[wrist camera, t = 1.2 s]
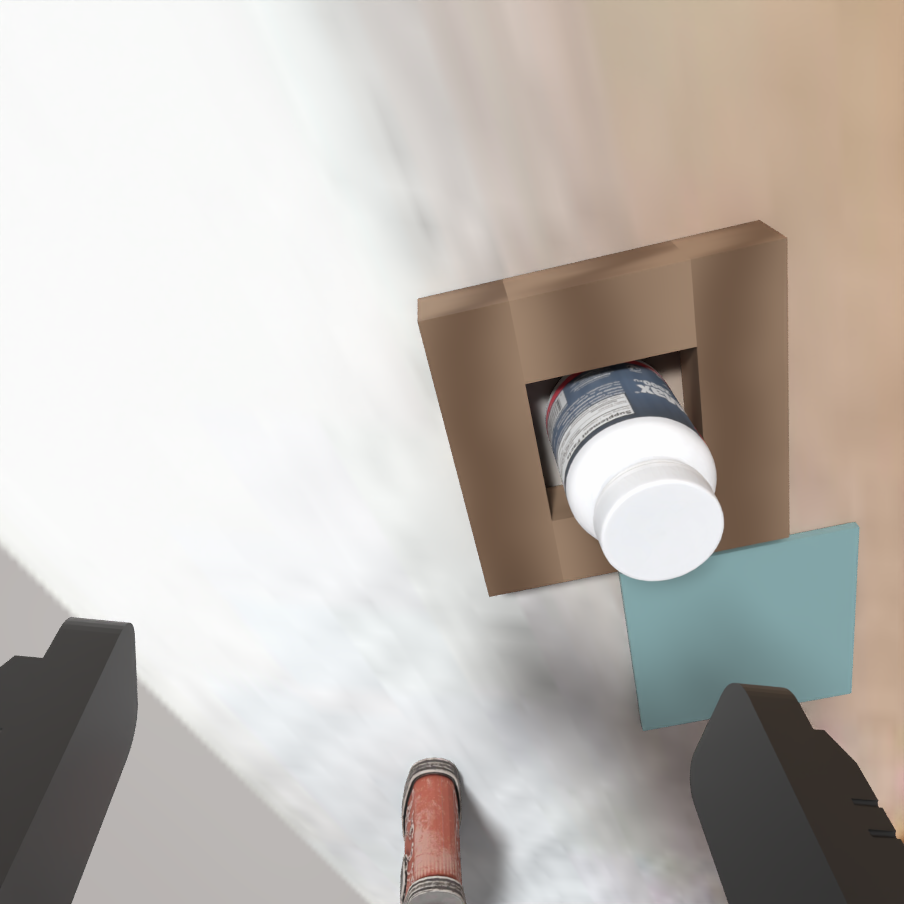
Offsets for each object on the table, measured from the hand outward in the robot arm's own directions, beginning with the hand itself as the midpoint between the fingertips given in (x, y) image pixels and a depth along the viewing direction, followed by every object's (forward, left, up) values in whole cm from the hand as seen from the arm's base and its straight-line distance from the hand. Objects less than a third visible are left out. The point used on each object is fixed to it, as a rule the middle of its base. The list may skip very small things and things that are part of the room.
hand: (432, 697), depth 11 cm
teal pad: (-11, +22, -21) cm, 33 cm away
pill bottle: (-6, +8, -22) cm, 24 cm away
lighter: (+7, +31, -22) cm, 38 cm away
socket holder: (-6, +8, -21) cm, 24 cm away
